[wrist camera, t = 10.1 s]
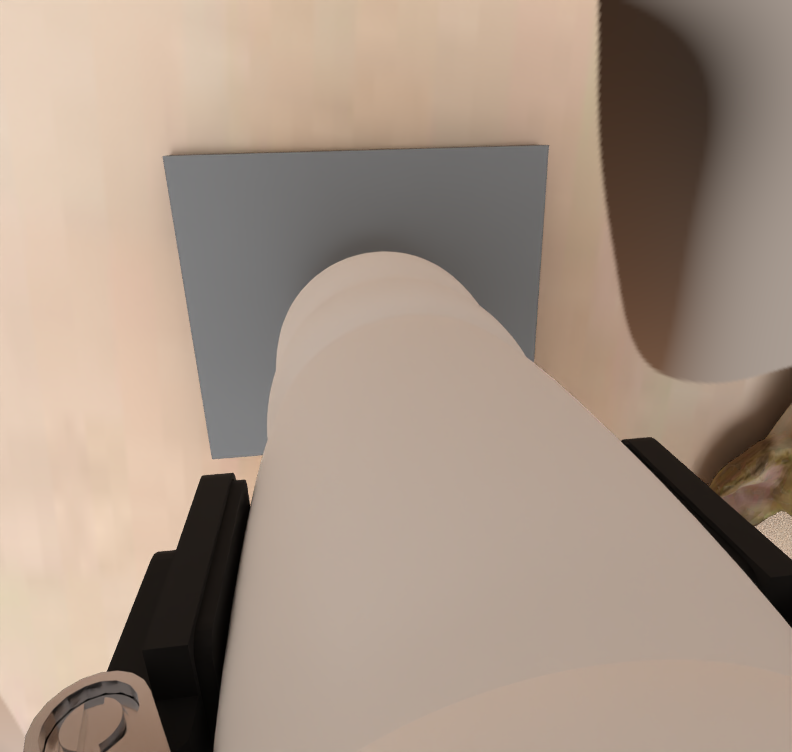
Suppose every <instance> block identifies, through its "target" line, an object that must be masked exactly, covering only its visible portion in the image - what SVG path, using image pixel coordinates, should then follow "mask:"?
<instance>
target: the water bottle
mask: <svg viewBox="0 0 792 752" xmlns="http://www.w3.org/2000/svg"><path fill="white" fill-rule="evenodd" d="M267 437H268V440H267V443H266V446H265V450H264V453H263V456H262V460H261V464H260V468H259V471H258V475H257V479H256V483H255V488H254V492H253V497H252V501H251V506H250V510H249V515H248V520H247V526H246V531H245V536H244V541H243V546H242V552H241V557H240V562H239V568H238V574H237V580H236V586H235V592H234V598H233V604H232V610H231V616H230V623H229V630H228V637H227V644H226V651H225V657H224V664H223V671H222V679H221V687H220V696H219V704H218V713H217V722H216V730H215V739H214V750H213V752H792V628H791V627H790V626H789V624H788V623H787V622H786V621H785V619H784V618H783V617H782V616H781V615H780V613H779V612H778V611H777V610H776V609H775V608H774V606H773V605H772V604H771V603H770V602H769V601H768V599H767V598H766V597H765V596H764V595H763V593H762V592H761V591H760V590H759V589H758V588H757V586H756V585H755V584H754V583H753V582H752V581H751V579H750V578H749V577H748V576H747V575H746V574H745V572H744V571H743V570H742V569H741V568H740V567H739V566H738V564H737V563H736V562H735V561H734V560H733V559H732V558H731V557H730V556H729V554H728V553H727V552H726V551H725V550H724V549H723V548H722V547H721V546H720V544H719V543H718V542H717V541H716V540H715V539H714V538H713V537H712V536H711V535H710V533H709V532H708V531H707V530H706V529H705V528H704V527H703V526H702V525H701V523H700V522H699V521H698V520H697V519H696V518H695V517H694V516H693V515H692V514H691V513H690V512H689V511H688V510H687V509H686V507H685V506H684V505H683V504H682V503H681V502H680V501H679V500H678V499H677V498H676V497H675V496H674V495H673V494H672V493H671V492H670V491H669V490H668V489H667V488H666V487H665V486H664V484H663V483H662V482H661V481H660V480H659V479H658V478H657V477H656V476H655V475H654V474H653V473H652V472H651V471H650V470H649V469H648V468H647V467H646V466H645V465H644V464H643V463H642V462H641V461H640V460H639V459H638V458H637V457H636V456H635V455H634V454H633V453H632V452H631V451H630V450H629V449H628V448H627V447H626V446H625V445H624V444H623V443H622V442H621V441H620V440H619V439H618V438H617V437H616V436H615V435H614V434H613V433H612V432H611V431H610V430H609V429H608V428H607V427H606V426H604V425H603V424H602V423H601V422H600V421H599V420H598V419H597V418H596V417H595V416H594V415H593V414H592V413H591V412H590V411H589V410H588V409H587V408H586V407H585V406H583V405H582V404H581V403H580V402H579V401H578V400H577V399H576V398H575V397H574V396H572V395H571V394H570V393H569V392H568V391H567V390H566V389H565V388H564V387H562V386H561V385H560V384H559V383H558V382H557V381H556V380H554V379H553V378H552V377H551V376H550V375H548V374H547V373H546V372H545V371H544V370H542V369H541V368H540V367H539V366H537V365H536V364H535V363H534V362H532V361H531V360H530V359H528V358H527V357H526V356H525V354H524V353H523V351H522V350H521V348H520V347H519V345H518V344H517V342H516V341H515V340H514V338H513V337H512V336H511V335H510V333H509V332H508V331H507V330H506V329H505V328H504V327H503V326H502V325H501V324H500V323H499V322H498V321H497V320H496V319H495V318H494V317H493V316H492V315H491V314H490V313H488V312H487V311H486V310H485V309H484V308H482V307H481V306H479V304H478V303H477V301H476V300H475V299H474V298H473V296H472V295H471V294H470V293H469V292H468V291H467V290H466V288H465V287H464V286H463V285H462V284H461V283H460V282H459V281H458V280H456V279H455V278H454V277H453V276H452V275H451V274H449V273H448V272H447V271H445V270H444V269H442V268H441V267H439V266H437V265H436V264H434V263H432V262H430V261H427V260H425V259H423V258H420V257H417V256H414V255H410V254H406V253H400V252H387V251H381V252H371V253H364V254H360V255H356V256H352V257H349V258H346V259H344V260H342V261H339V262H337V263H335V264H333V265H331V266H329V267H328V268H326V269H325V270H323V271H322V272H321V273H319V274H318V275H317V276H315V277H314V278H313V279H312V280H311V281H310V282H309V283H308V284H307V285H306V286H305V287H304V288H303V289H302V290H301V292H300V293H299V294H298V296H297V297H296V298H295V300H294V302H293V303H292V305H291V307H290V308H289V310H288V313H287V315H286V317H285V320H284V322H283V325H282V328H281V332H280V336H279V341H278V348H277V357H276V372H275V375H274V378H273V382H272V386H271V391H270V396H269V403H268V412H267Z"/></svg>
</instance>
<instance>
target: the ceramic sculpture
mask: <svg viewBox="0 0 792 752" xmlns="http://www.w3.org/2000/svg"><path fill="white" fill-rule="evenodd" d="M709 487H710V488H711V489H712V490H713V491H714V492H715V493H717V494H718V495H719V496H720V497H721V498H722V499H723V500H724V501H726V502H727V503H728V504H729V505H730V506H731V507H732V508H734V509H735V510H736V511H737V512H738V513H739V514H740V515H741V516H743V517H744V518H745V519H746V520H747V521H748V522H749V523H751V524H752V525H753V526H757V525H758V524H760V523H761V522H762V521H764V520H765V519H767V518H768V517H770V516H773V515H775V514H776V513H777V512H780V511H783V512H787V513H788V514H789V515H791V516H792V404H791V405H790V406H789V407H788V409H787V410H786V411H785V412H784V414H783V415H782V416H781V417H780V419H779V420H778V422H777V423H776V424H775V426H774V427H773V429H772V430H771V431H770V433H769V434H768V436H767V437H766V439H764V440H762V441H759V442H757V443H756V444H755V445H753V446H752V447H751V448H749V449H748V450H747V451H745V452H744V453H743V454H741V455H740V456H738V457H737V458H735V459H734V460H733V461H731V462H730V463H729V464H727V465H726V466H725V467H724V468H722V469H721V470H720V471H719V472H718V474H717V475H716V476H715V478H714V479H713V480H712V482H711V484H710V486H709Z"/></svg>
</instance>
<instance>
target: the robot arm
mask: <svg viewBox="0 0 792 752" xmlns="http://www.w3.org/2000/svg"><path fill="white" fill-rule="evenodd" d="M621 442H622V443H623V444H624V445H625V446H626V447H627V448H628V449H629V450H630V451H631V452H632V453H633V454H634V455H635V456H636V457H637V458H638V459H639V460H640V461H641V462H642V463H643V464H644V465H645V466H646V467H647V468H648V469H649V470H650V471H651V472H652V473H653V474H654V475H655V476H656V477H657V478H658V479H659V480H660V481H661V482H662V483H663V484H664V486H665V487H666V488H667V489H668V490H669V491H670V492H671V493H672V494H673V495H674V496H675V497H676V498H677V499H678V500H679V501H680V502H681V503H682V504H683V505H684V506H685V507H686V509H687V510H688V511H689V512H690V513H691V514H692V515H693V516H694V517H695V518H696V519H697V520H698V521H699V522H700V523H701V525H702V526H703V527H704V528H705V529H706V530H707V531H708V532H709V533H710V535H711V536H712V537H713V538H714V539H715V540H716V541H717V542H718V543H719V544H720V546H721V547H722V548H723V549H724V550H725V551H726V552H727V553H728V554H729V556H730V557H731V558H732V559H733V560H734V561H735V562H736V563H737V564H738V566H739V567H740V568H741V569H742V570H743V571H744V572H745V574H746V575H747V576H748V577H749V578H750V579H751V581H752V582H753V583H754V584H755V585H756V586H757V588H758V589H759V590H760V591H761V592H762V593H763V595H764V596H765V597H766V598H767V599H768V601H769V602H770V603H771V604H772V605H773V606H774V608H775V609H776V610H777V611H778V612H779V613H780V615H781V616H782V617H783V618H784V619H785V621H786V622H787V623H788V624H789V626H790V627H791V628H792V560H791V559H790V558H789V557H788V556H787V555H786V554H785V553H783V552H782V551H781V550H780V549H779V548H778V547H777V546H775V545H774V544H773V543H772V542H771V541H770V540H769V539H768V538H766V537H765V536H764V535H763V534H762V533H761V532H760V531H758V530H757V529H756V528H755V527H754V526H753V525H752V524H751V523H749V522H748V521H747V520H746V519H745V518H744V517H743V516H741V515H740V514H739V513H738V512H737V511H736V510H735V509H734V508H732V507H731V506H730V505H729V504H728V503H727V502H726V501H724V500H723V499H722V498H721V497H720V496H719V495H718V494H717V493H715V492H714V491H713V490H712V489H711V488H710V487H709V486H707V485H706V484H705V483H704V482H703V481H702V480H701V479H700V478H698V477H697V476H696V475H695V474H694V473H693V472H692V471H690V470H689V469H688V468H687V467H686V466H685V465H684V464H683V463H681V462H680V461H679V460H678V459H677V458H676V457H675V456H673V455H672V454H671V453H670V452H669V451H668V450H667V449H666V448H664V447H663V446H662V445H661V444H660V443H659V442H658V441H656V440H655V439H654V438H652V437H647V438H635V439H624V440H622V441H621ZM249 510H250V502H249V495H248V488H247V483H246V480H236V478H235V475H234V473H226V474H214V475H203V476H202V477H201V479H200V482H199V485H198V488H197V490H196V493H195V496H194V499H193V502H192V505H191V508H190V511H189V514H188V517H187V520H186V523H185V525H184V528H183V531H182V534H181V537H180V540H179V543H178V546H177V549H176V550H172V551H162V552H157V553H155V554H154V555H153V557H152V559H151V561H150V564H149V566H148V569H147V571H146V574H145V576H144V579H143V581H142V584H141V586H140V589H139V591H138V594H137V597H136V599H135V602H134V604H133V607H132V609H131V612H130V614H129V617H128V619H127V622H126V624H125V627H124V629H123V632H122V635H121V637H120V640H119V642H118V645H117V647H116V650H115V652H114V655H113V657H112V660H111V662H110V665H109V668H108V670H107V672H101V673H98V674H95V675H92V676H89V677H86V678H83V679H81V680H79V681H77V682H76V683H74V684H72V685H70V686H68V687H67V688H65V689H63V690H62V691H61V692H60V693H58V694H57V695H56V696H55V697H54V698H52V699H51V700H50V701H49V702H47V703H46V705H45V706H44V707H43V708H42V709H41V711H40V712H39V713H38V714H37V715H36V717H35V718H34V719H33V721H32V723H31V725H30V728H29V730H28V732H27V734H26V736H25V743H24V751H23V752H213V750H214V739H215V730H216V722H217V713H218V704H219V696H220V687H221V679H222V671H223V664H224V657H225V651H226V644H227V637H228V630H229V623H230V616H231V610H232V604H233V598H234V592H235V586H236V580H237V574H238V568H239V562H240V557H241V552H242V546H243V541H244V536H245V531H246V526H247V520H248V515H249Z"/></svg>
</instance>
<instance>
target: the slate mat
mask: <svg viewBox="0 0 792 752" xmlns="http://www.w3.org/2000/svg"><path fill="white" fill-rule="evenodd" d="M548 150H549V145H527V146H491V147H456V148H420V149H384V150H348V151H312V152H276V153H240V154H204V155H170V156H163V162H164V168H165V174H166V180H167V186H168V192H169V198H170V204H171V211H172V217H173V223H174V229H175V235H176V241H177V247H178V253H179V259H180V266H181V272H182V278H183V284H184V290H185V296H186V302H187V308H188V314H189V321H190V327H191V333H192V339H193V345H194V351H195V357H196V363H197V369H198V376H199V382H200V388H201V394H202V400H203V406H204V412H205V418H206V425H207V431H208V437H209V443H210V449H211V455H212V459H222V458H234V457H246V456H258V455H263V453H264V450H265V446H266V443H267V440H268V437H267V412H268V403H269V396H270V391H271V386H272V382H273V378H274V375H275V372H276V357H277V348H278V341H279V336H280V332H281V328H282V325H283V322H284V320H285V317H286V315H287V313H288V310H289V308H290V307H291V305H292V303H293V302H294V300H295V298H296V297H297V296H298V294H299V293H300V292H301V290H302V289H303V288H304V287H305V286H306V285H307V284H308V283H309V282H310V281H311V280H312V279H313V278H314V277H315V276H317V275H318V274H319V273H321V272H322V271H323V270H325V269H326V268H328V267H329V266H331V265H333V264H335V263H337V262H339V261H342V260H344V259H346V258H349V257H352V256H356V255H360V254H364V253H371V252H381V251H387V252H400V253H406V254H410V255H414V256H417V257H420V258H423V259H425V260H427V261H430V262H432V263H434V264H436V265H437V266H439V267H441V268H442V269H444V270H445V271H447V272H448V273H449V274H451V275H452V276H453V277H454V278H455V279H456V280H458V281H459V282H460V283H461V284H462V285H463V286H464V287H465V288H466V290H467V291H468V292H469V293H470V294H471V295H472V296H473V298H474V299H475V300H476V301H477V303H478V304H479V306H481V307H482V308H484V309H485V310H486V311H487V312H488V313H490V314H491V315H492V316H493V317H494V318H495V319H496V320H497V321H498V322H499V323H500V324H501V325H502V326H503V327H504V328H505V329H506V330H507V331H508V332H509V333H510V335H511V336H512V337H513V338H514V340H515V341H516V342H517V344H518V345H519V347H520V348H521V350H522V351H523V353H524V354H525V356H526V357H527V358H528V359H530V360H531V361H532V362H534V353H535V339H536V324H537V310H538V295H539V281H540V266H541V252H542V237H543V223H544V208H545V194H546V179H547V165H548Z"/></svg>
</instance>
